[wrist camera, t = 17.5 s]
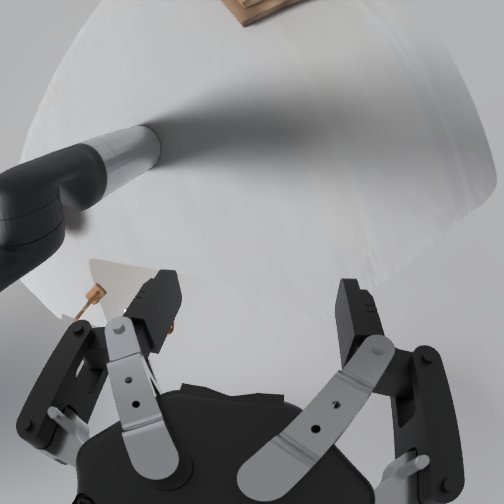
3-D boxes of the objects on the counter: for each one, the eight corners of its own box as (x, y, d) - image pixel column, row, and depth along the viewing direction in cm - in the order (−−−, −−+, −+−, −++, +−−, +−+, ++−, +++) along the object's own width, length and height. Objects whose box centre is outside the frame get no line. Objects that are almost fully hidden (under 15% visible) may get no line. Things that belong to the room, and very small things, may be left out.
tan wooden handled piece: (97, 282, 66) (74, 310, 56) (107, 292, 67) (85, 321, 57) (86, 294, 70) (65, 321, 59) (95, 303, 71) (75, 330, 61)
